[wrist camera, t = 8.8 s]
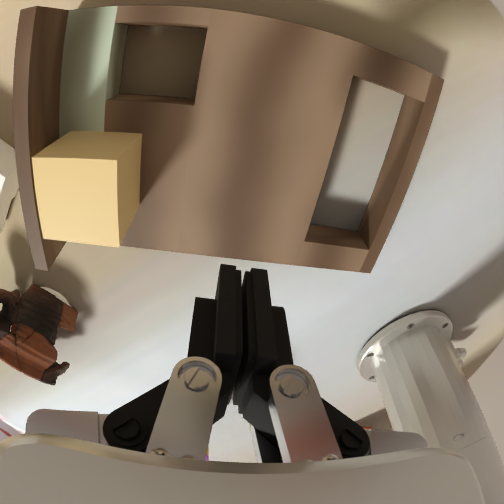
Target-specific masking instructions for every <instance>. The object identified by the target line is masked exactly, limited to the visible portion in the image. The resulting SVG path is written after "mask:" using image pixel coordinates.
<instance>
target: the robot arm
mask: <svg viewBox="0 0 504 504" xmlns="http://www.w3.org/2000/svg"><path fill="white" fill-rule="evenodd" d="M452 332H453V325H452V323H451V321H450V319H449V318H448V316H447V315H446V314H444V313H443V312H440V311H437V310H426V311H420V312H416V313H413V314H410V315H407V316H405V317H403V318H400V319H398V320H396V321H395V322H393V323H391V324H389V325H388V326H386V327H385V328H383V329H382V330H381V331H379V332H378V333H377V334H376V335H374V336H373V337H372V338H371V339H370V340H369V341H368V342H367V343H366V345H365V346H364V348H363V349H362V350H361V352H360V354H359V356H358V361H357V366H358V369H359V372H360V375H361V376H362V377H363V378H364V379H366V380H368V381H372V382H377V385H378V387H379V390H380V393H381V396H382V399H383V402H384V405H385V408H386V411H387V414H388V417H389V421H390V424H391V427H392V430H393V431H389V430H380V429H370V430H369V431H367V430H364V429H363V428H362V427H361V426H360V425H358V424H357V423H356V422H354V421H353V420H351V419H350V418H349V417H347V416H346V415H344V414H343V413H342V412H340V411H339V410H337V409H336V408H335V407H333V406H332V405H331V404H329V403H328V402H327V401H325V400H324V399H323V398H321V397H320V394H319V391H318V389H317V386H316V383H315V381H314V379H313V377H312V375H311V374H310V373H309V372H308V371H307V370H305V369H303V368H302V367H299V366H296V365H293V359H292V352H291V346H290V340H289V333H288V327H287V321H286V315H285V310H284V308H283V307H276V306H271V297H270V289H269V281H268V273H267V270H264V269H256V268H251V271H250V272H248V271H245V274H244V279H243V283H242V285H241V270H236V266H233V265H226V264H221V265H220V271H219V277H218V284H217V290H216V296H215V299H207V298H199V297H196V298H195V305H194V312H193V319H192V326H191V334H190V341H189V349H188V357H187V358H185V359H182V360H181V361H179V362H178V363H177V364H176V365H175V367H174V369H173V371H172V374H171V377H170V379H169V380H167V381H165V382H163V383H162V384H160V385H158V386H157V387H155V388H153V389H152V390H150V391H148V392H146V393H145V394H143V395H141V396H139V397H138V398H136V399H134V400H132V401H131V402H129V403H127V404H125V405H123V406H122V407H120V408H118V409H116V410H114V411H113V412H111V413H110V414H98V412H87V411H65V410H51V409H39V410H36V411H34V412H33V413H31V415H30V416H29V417H28V419H27V423H26V432H25V434H19V435H15V436H11V437H8V438H5V439H4V440H2V441H1V442H0V504H504V465H503V463H502V460H501V457H500V455H499V453H498V450H497V447H496V445H495V442H494V440H493V437H492V435H491V432H490V430H489V428H488V425H487V423H486V420H485V418H484V416H483V413H482V411H481V409H480V406H479V404H478V402H477V400H476V398H475V395H474V393H473V391H472V389H471V387H470V385H469V383H468V381H467V379H466V377H465V375H464V373H463V371H462V369H461V368H462V360H461V359H462V358H464V357H465V356H466V349H465V348H457V349H455V348H454V346H453V344H452V342H451V340H450V339H451V336H452ZM232 392H233V405H238V410H239V413H240V414H243V418H244V419H245V420H247V421H248V422H249V423H250V431H251V436H252V441H253V445H254V450H255V454H256V459H257V463H238V462H219V461H206V460H205V458H206V453H207V448H208V444H209V439H210V434H211V430H212V425H213V424H214V423H215V422H217V421H218V420H219V419H221V418H222V417H223V416H224V414H225V411H226V407H227V404H229V402H230V399H231V395H232Z"/></svg>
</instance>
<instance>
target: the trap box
mask: <svg viewBox="0 0 504 504" xmlns="http://www.w3.org/2000/svg"><path fill="white" fill-rule="evenodd" d="M132 25H143V26H174V27H189V28H200V29H208V30H207V35H206V40H205V45H204V50H203V56H202V61H201V67H200V73H199V79H198V85H197V91H196V98H195V99H189V98H178V97H166V96H152V95H133V94H120V83H121V74H122V65H123V57H124V50H125V43H126V37H127V30H128V26H132ZM353 76H354V77H357V78H360V79H363V80H366V81H369V82H372V83H374V84H377V85H380V86H383V87H385V88H388V89H391V90H393V91H396V92H398V93H401V94H403V95H405V97H404V100H403V103H402V107H401V110H400V113H399V117H398V120H397V123H396V126H395V130H394V133H393V136H392V139H391V142H390V145H389V148H388V151H387V154H386V157H385V160H384V163H383V166H382V168H381V171H380V174H379V177H378V180H377V182H376V185H375V188H374V191H373V193H372V196H371V199H370V201H369V204H368V207H367V209H366V212H365V214H364V217H363V219H362V222H361V224H360V227H359V229H358V231H352V230H346V229H339V228H333V227H326V226H320V225H313V224H310V222H311V219H312V216H313V212H314V209H315V206H316V203H317V200H318V197H319V193H320V190H321V187H322V184H323V180H324V177H325V174H326V170H327V167H328V164H329V160H330V157H331V154H332V150H333V147H334V143H335V140H336V136H337V133H338V129H339V126H340V122H341V119H342V115H343V111H344V108H345V104H346V100H347V97H348V93H349V89H350V86H351V82H352V78H353ZM443 82H444V80H443V79H442V78H440V77H438V76H436V75H434V74H432V73H430V72H428V71H426V70H424V69H422V68H420V67H418V66H415V65H413V64H411V63H409V62H407V61H405V60H402V59H400V58H398V57H395V56H393V55H391V54H388V53H386V52H383V51H381V50H378V49H376V48H373V47H370V46H368V45H365V44H362V43H360V42H357V41H354V40H351V39H348V38H345V37H342V36H339V35H336V34H333V33H329V32H326V31H323V30H319V29H315V28H312V27H308V26H304V25H300V24H296V23H292V22H288V21H284V20H279V19H274V18H270V17H264V16H259V15H254V14H248V13H241V12H235V11H228V10H220V9H211V8H200V7H188V6H168V5H125V6H106V7H94V8H84V9H75V10H63V9H57V8H49V7H41V6H35V7H30V8H26V9H22V10H21V11H20V17H19V23H18V31H17V39H16V48H15V60H14V77H13V127H14V145H15V157H16V168H17V176H18V184H19V191H20V198H21V204H22V210H23V216H24V221H25V226H26V231H27V236H28V241H29V245H30V249H31V254H32V258H33V262H34V265H35V269H39V270H45V271H48V270H49V269H50V267H51V266H52V264H53V262H54V261H55V259H56V257H57V256H58V254H59V253H60V251H61V250H62V248H63V246H64V245H65V243H66V242H67V241H59V240H51V239H43V234H42V229H41V224H40V218H39V212H38V206H37V199H36V192H35V184H34V175H33V165H32V157H33V156H35V155H36V154H37V153H39V152H40V151H42V150H43V149H45V148H46V147H47V146H49V145H50V144H52V143H53V142H55V141H56V140H58V139H59V138H61V137H62V136H64V135H66V134H67V133H69V132H70V131H97V132H124V133H142V145H141V165H140V205H139V207H138V209H137V211H136V213H135V215H134V218H133V220H132V222H131V224H130V226H129V228H128V230H127V232H126V235H125V237H124V239H123V241H122V243H121V246H128V247H137V248H145V249H154V250H163V251H171V252H180V253H189V254H197V255H206V256H215V257H224V258H233V259H242V260H251V261H260V262H269V263H279V264H288V265H297V266H307V267H316V268H326V269H335V270H345V271H354V272H364V273H371V271H372V269H373V267H374V265H375V262H376V260H377V258H378V256H379V254H380V252H381V250H382V248H383V245H384V243H385V241H386V239H387V237H388V234H389V232H390V230H391V228H392V225H393V223H394V221H395V218H396V216H397V214H398V211H399V209H400V207H401V204H402V202H403V199H404V197H405V194H406V192H407V189H408V187H409V184H410V182H411V179H412V177H413V174H414V171H415V169H416V166H417V163H418V161H419V158H420V155H421V152H422V149H423V146H424V144H425V141H426V138H427V135H428V132H429V129H430V126H431V123H432V120H433V116H434V113H435V110H436V107H437V103H438V100H439V96H440V93H441V89H442V86H443Z"/></svg>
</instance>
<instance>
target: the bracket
mask: <svg viewBox="0 0 504 504" xmlns="http://www.w3.org/2000/svg"><path fill="white" fill-rule="evenodd" d="M18 188H19V184H18V176H17V168H16V157H15V149H14V148H12V147H11V146H10V145H8V144H7V143H6V142H4V141H3V140H2V139H0V233H1V232H2V231H3V227H4V223H5V220H6V216H7V213H8V210H9V206H10V203H11V200H12V199H13V198H14V197H15V196H16V194H17V191H18Z"/></svg>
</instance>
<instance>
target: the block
mask: <svg viewBox="0 0 504 504" xmlns="http://www.w3.org/2000/svg"><path fill="white" fill-rule="evenodd" d="M141 145H142V133H124V132H97V131H70V132H69V133H67V134H66V135H64V136H62V137H61V138H59V139H58V140H56V141H55V142H53V143H52V144H50V145H49V146H47V147H46V148H45V149H43V150H42V151H40V152H39V153H37V154H36V155H35V156H33V157H32V165H33V175H34V184H35V192H36V199H37V206H38V212H39V218H40V224H41V229H42V234H43V239H51V240H59V241H68V242H76V243H85V244H94V245H103V246H112V247H120V246H121V243H122V241H123V239H124V237H125V235H126V232H127V230H128V228H129V226H130V224H131V222H132V220H133V218H134V215H135V213H136V211H137V209H138V207H139V205H140V165H141Z"/></svg>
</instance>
